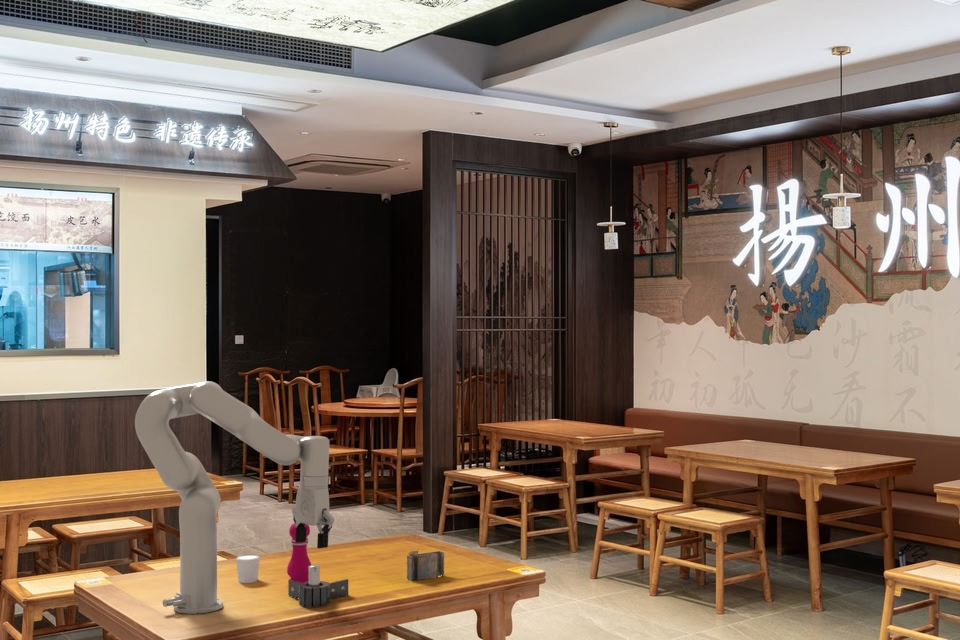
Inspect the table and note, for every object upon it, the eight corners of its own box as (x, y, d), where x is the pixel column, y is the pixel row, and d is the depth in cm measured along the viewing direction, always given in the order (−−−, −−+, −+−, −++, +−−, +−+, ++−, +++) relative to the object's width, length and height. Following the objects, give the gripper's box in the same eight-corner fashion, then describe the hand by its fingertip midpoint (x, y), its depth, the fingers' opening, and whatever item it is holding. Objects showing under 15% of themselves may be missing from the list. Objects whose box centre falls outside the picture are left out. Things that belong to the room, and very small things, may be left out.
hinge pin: (313, 605, 262) (313, 567, 262) (306, 603, 264) (306, 566, 264) (322, 602, 264) (322, 566, 264) (315, 600, 266) (315, 564, 266)
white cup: (242, 584, 284) (242, 560, 284) (232, 580, 289) (232, 556, 290) (263, 580, 289) (263, 557, 289) (253, 576, 294) (253, 553, 294)
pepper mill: (306, 588, 279) (306, 519, 279) (283, 587, 280) (283, 518, 281) (315, 582, 286) (315, 514, 286) (292, 581, 287) (292, 514, 288)
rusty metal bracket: (412, 583, 287) (411, 550, 287) (407, 581, 289) (407, 548, 290) (445, 578, 293) (444, 545, 293) (439, 576, 295) (439, 544, 296)
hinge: (311, 608, 258) (311, 590, 258) (277, 598, 268) (277, 580, 269) (357, 597, 269) (357, 579, 269) (322, 587, 280) (322, 570, 280)
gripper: (283, 479, 268) (281, 541, 267) (322, 486, 256) (320, 551, 255) (306, 477, 273) (303, 538, 273) (344, 484, 261) (342, 548, 261)
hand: (311, 544), depth 264 cm, fingers open, 9 cm apart
